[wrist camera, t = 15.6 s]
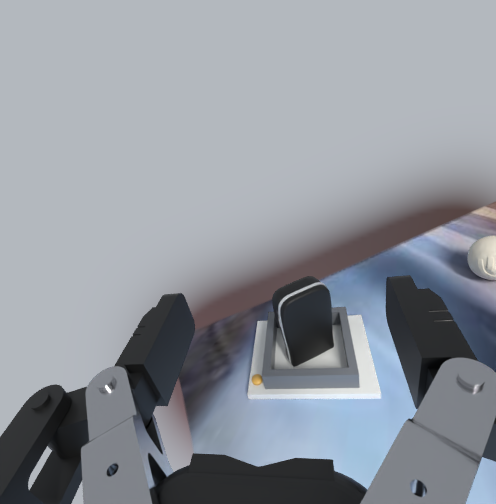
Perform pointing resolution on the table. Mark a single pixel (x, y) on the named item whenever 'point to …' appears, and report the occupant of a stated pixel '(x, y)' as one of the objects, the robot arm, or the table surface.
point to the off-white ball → (483, 257)
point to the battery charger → (304, 319)
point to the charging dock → (314, 364)
